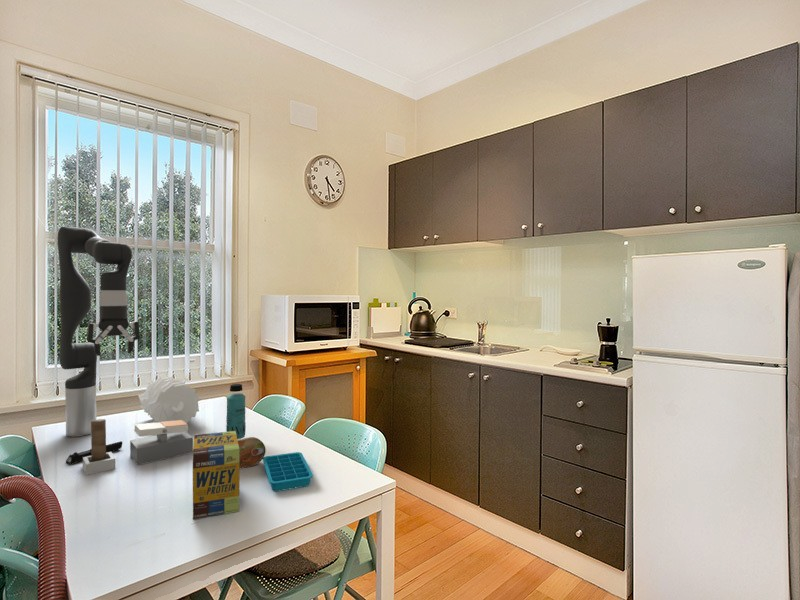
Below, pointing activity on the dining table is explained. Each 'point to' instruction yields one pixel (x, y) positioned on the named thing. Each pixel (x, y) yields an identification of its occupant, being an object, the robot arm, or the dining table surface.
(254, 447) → the tin
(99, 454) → the wooden peg
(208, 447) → the protein box
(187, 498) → the dining table surface
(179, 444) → the switch box
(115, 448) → the electric trimmer
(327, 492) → the dining table surface
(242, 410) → the beverage bottle
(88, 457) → the holder
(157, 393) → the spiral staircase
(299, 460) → the ice cube tray
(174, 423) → the rocker switch
